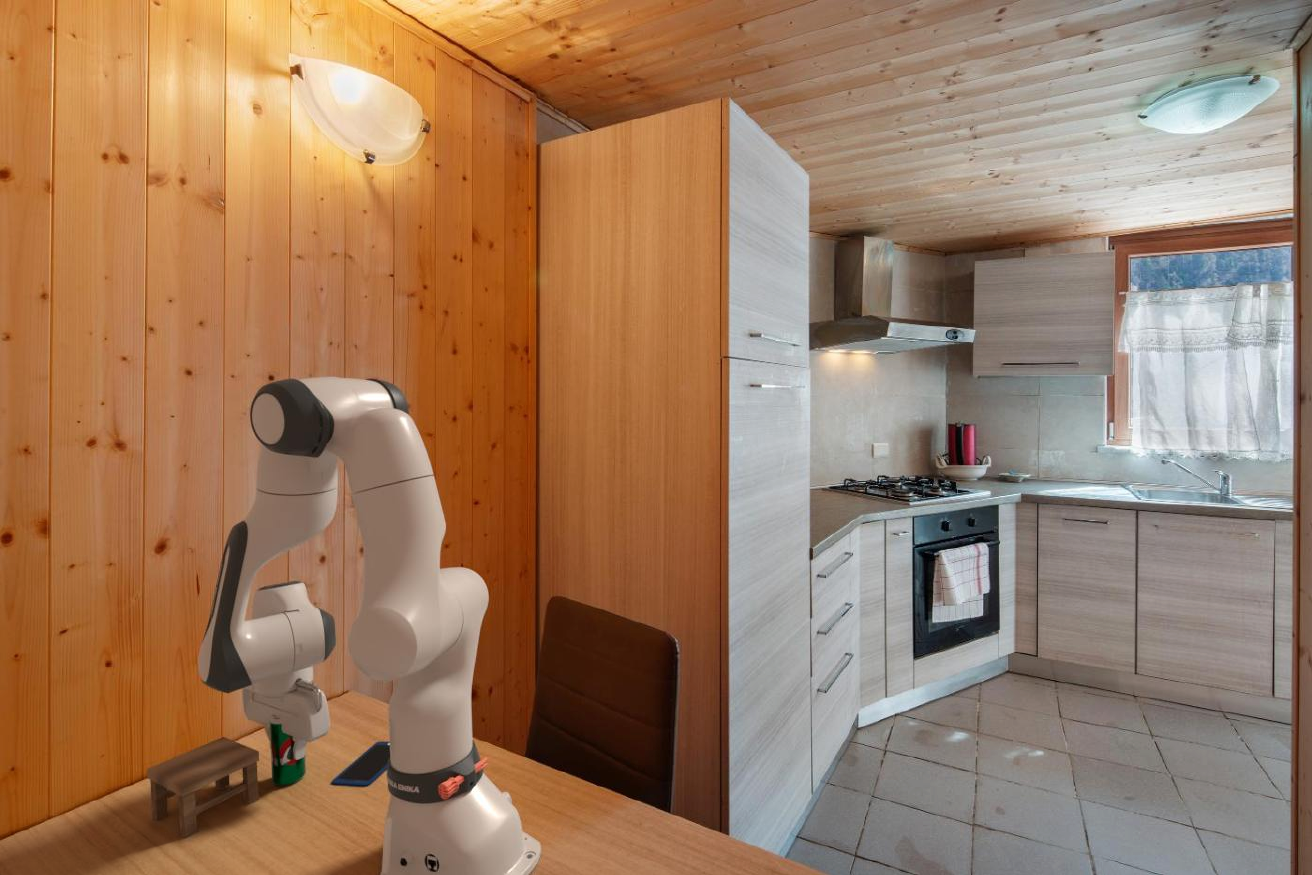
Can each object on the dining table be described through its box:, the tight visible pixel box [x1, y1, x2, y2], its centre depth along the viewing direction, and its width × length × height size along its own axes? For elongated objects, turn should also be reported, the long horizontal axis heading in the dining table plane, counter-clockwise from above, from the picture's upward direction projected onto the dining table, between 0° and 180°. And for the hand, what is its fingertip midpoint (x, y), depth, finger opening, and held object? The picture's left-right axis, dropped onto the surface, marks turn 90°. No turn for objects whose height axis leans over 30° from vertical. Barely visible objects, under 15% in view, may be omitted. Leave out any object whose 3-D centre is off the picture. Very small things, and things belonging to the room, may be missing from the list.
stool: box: [146, 736, 260, 839], centre depth 100 cm, size 11×11×8 cm
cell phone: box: [331, 740, 390, 788], centre depth 112 cm, size 7×14×1 cm, turn 171°
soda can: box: [269, 715, 307, 787], centre depth 107 cm, size 5×5×12 cm
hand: (287, 753), depth 107 cm, fingers closed on soda can, 5 cm apart
